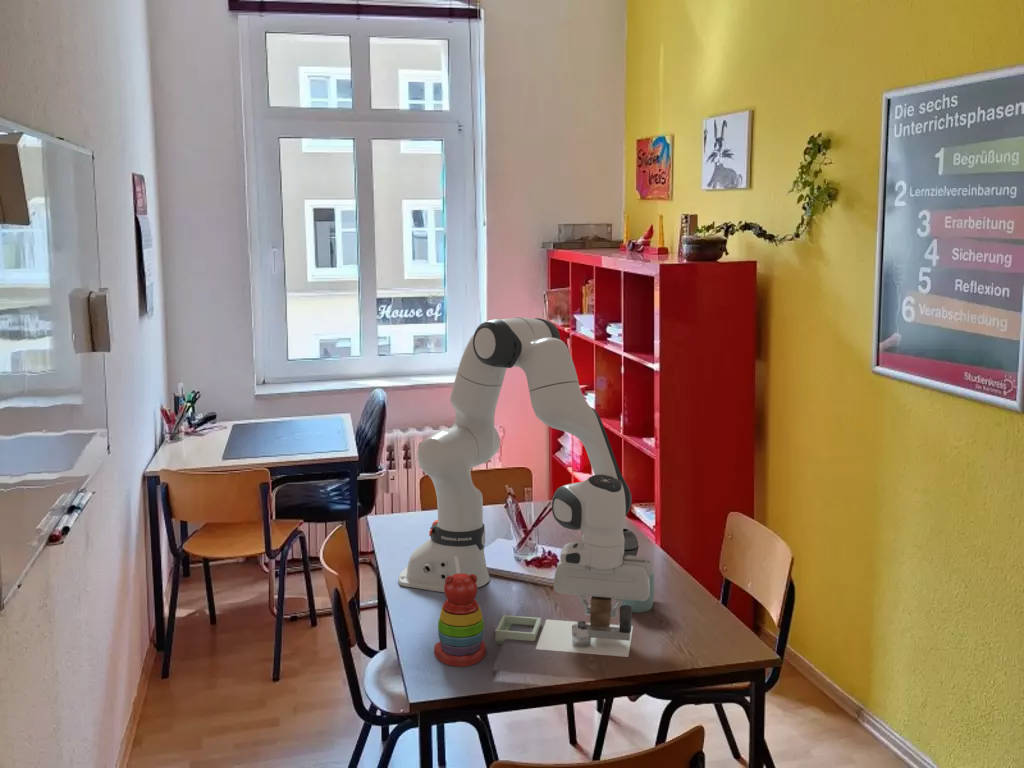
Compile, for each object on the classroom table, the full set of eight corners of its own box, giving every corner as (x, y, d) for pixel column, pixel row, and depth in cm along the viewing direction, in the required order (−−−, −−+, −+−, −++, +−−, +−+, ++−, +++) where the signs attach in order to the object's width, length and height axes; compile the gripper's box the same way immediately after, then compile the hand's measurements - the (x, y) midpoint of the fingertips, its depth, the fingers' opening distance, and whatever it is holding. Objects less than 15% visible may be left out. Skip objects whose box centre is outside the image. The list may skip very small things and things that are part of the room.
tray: (495, 644, 205) (495, 630, 205) (503, 627, 214) (503, 614, 213) (534, 647, 204) (534, 634, 203) (540, 630, 212) (541, 617, 212)
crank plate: (535, 655, 200) (535, 648, 200) (546, 625, 215) (546, 619, 214) (628, 663, 197) (628, 656, 196) (632, 632, 211) (633, 625, 211)
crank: (570, 645, 200) (571, 607, 199) (573, 637, 204) (573, 599, 203) (630, 650, 198) (630, 611, 197) (631, 642, 202) (632, 604, 201)
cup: (612, 609, 224) (613, 567, 222) (642, 603, 227) (643, 562, 225) (629, 621, 217) (630, 579, 215) (659, 616, 220) (661, 574, 218)
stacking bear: (484, 644, 206) (484, 563, 202) (490, 665, 196) (489, 582, 193) (433, 647, 204) (432, 566, 201) (436, 669, 194) (435, 584, 191)
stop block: (590, 626, 205) (590, 599, 204) (592, 618, 209) (593, 592, 208) (609, 628, 204) (610, 601, 203) (610, 620, 208) (611, 593, 207)
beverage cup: (636, 598, 230) (638, 517, 226) (605, 596, 231) (607, 515, 228) (638, 586, 237) (640, 508, 233) (608, 584, 238) (610, 506, 235)
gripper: (653, 552, 205) (650, 613, 207) (557, 544, 208) (556, 604, 211) (652, 562, 199) (649, 626, 201) (553, 554, 202) (551, 616, 205)
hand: (600, 615), depth 206 cm, fingers closed on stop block, 4 cm apart
